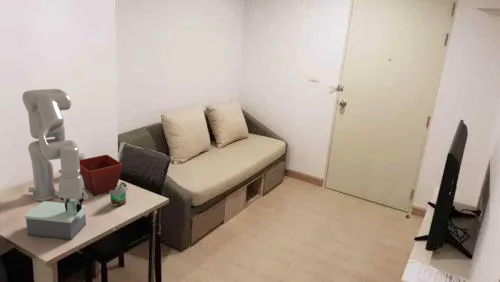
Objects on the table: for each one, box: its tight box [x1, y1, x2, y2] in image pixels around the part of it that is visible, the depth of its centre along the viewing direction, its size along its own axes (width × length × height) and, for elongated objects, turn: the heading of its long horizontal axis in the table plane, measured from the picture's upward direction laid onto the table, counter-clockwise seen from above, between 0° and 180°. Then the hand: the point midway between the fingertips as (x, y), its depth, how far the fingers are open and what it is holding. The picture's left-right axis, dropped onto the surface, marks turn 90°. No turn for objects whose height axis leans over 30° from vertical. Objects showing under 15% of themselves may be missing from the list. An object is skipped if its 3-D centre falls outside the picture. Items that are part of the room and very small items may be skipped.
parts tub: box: [25, 208, 87, 241], centre depth 182 cm, size 20×14×9 cm
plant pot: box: [79, 154, 123, 196], centre depth 223 cm, size 19×19×17 cm
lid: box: [24, 199, 87, 223], centre depth 179 cm, size 23×15×8 cm, turn 86°
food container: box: [108, 181, 129, 208], centre depth 210 cm, size 12×6×10 cm, turn 168°
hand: (73, 209), depth 179 cm, fingers open, 4 cm apart
